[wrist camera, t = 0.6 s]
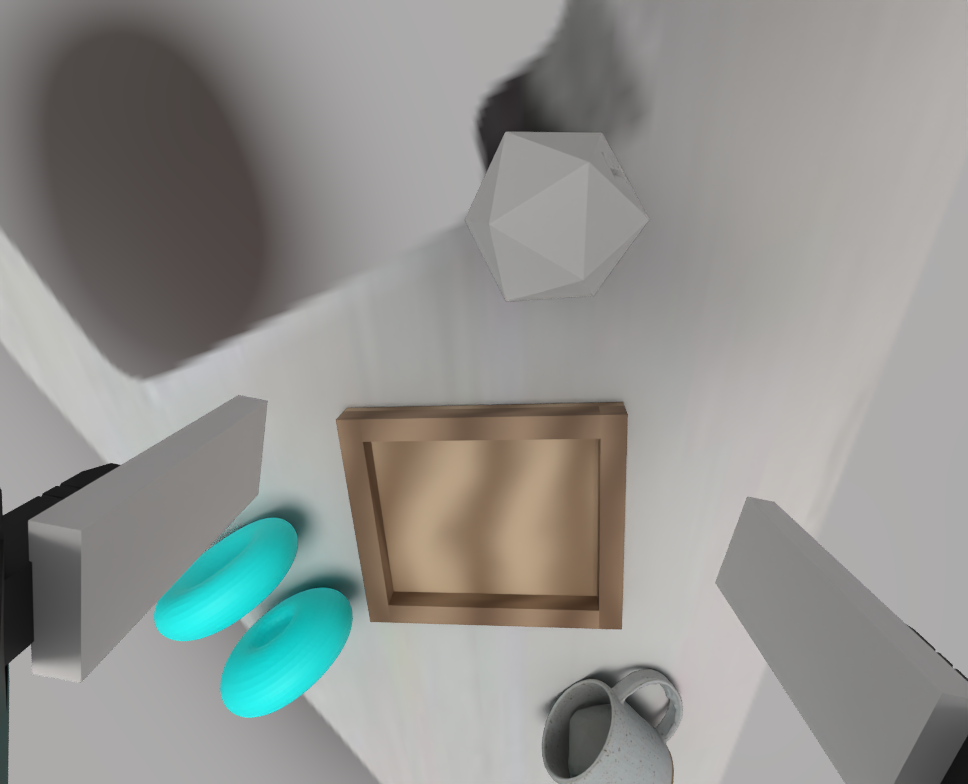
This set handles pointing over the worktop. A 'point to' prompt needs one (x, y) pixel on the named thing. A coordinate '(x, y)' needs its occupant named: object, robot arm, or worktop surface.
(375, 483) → the tray
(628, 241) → the die
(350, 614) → the donuts
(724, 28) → the worktop surface
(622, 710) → the ceramic mug
